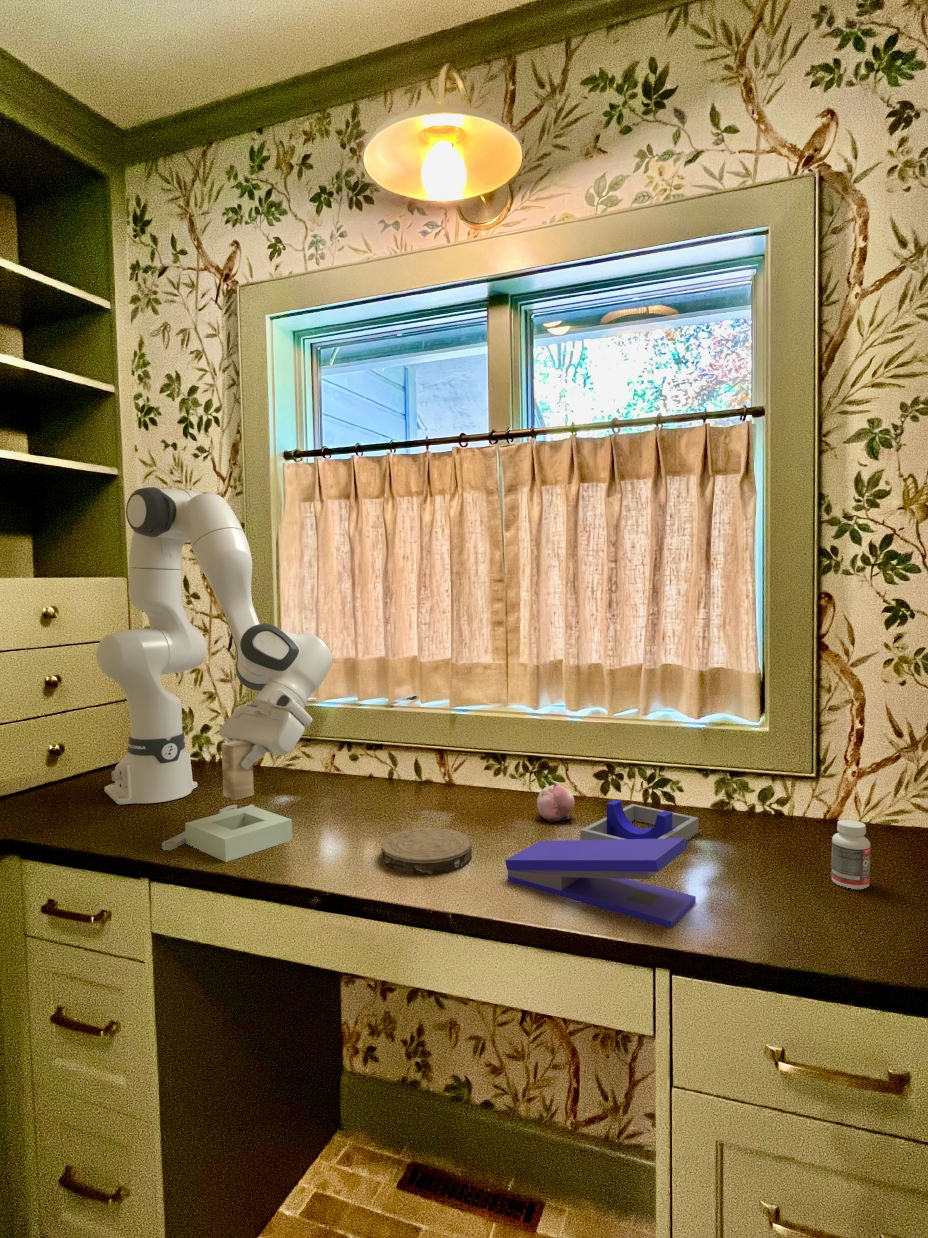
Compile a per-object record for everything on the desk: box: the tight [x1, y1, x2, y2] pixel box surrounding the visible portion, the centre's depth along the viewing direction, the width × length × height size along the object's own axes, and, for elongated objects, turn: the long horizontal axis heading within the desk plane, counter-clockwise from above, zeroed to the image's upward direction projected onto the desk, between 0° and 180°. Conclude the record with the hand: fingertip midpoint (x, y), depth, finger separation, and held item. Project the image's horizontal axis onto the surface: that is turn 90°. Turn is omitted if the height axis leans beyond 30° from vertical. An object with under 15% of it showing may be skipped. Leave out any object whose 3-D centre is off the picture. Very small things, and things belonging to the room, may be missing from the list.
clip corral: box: [579, 803, 699, 842], centre depth 135 cm, size 14×20×3 cm
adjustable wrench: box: [161, 803, 256, 851], centre depth 145 cm, size 25×6×2 cm, turn 157°
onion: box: [536, 784, 576, 823], centre depth 148 cm, size 8×8×7 cm
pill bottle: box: [831, 819, 871, 890], centre depth 115 cm, size 5×5×10 cm
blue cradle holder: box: [606, 799, 676, 839], centre depth 135 cm, size 12×4×6 cm, turn 47°
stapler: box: [504, 838, 696, 929], centre depth 113 cm, size 12×28×10 cm, turn 53°
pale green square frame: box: [184, 804, 293, 863], centre depth 136 cm, size 14×14×4 cm
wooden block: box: [221, 740, 255, 801], centre depth 136 cm, size 4×4×10 cm
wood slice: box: [381, 827, 473, 877], centre depth 128 cm, size 16×16×3 cm
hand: (234, 765), depth 135 cm, fingers closed on wooden block, 4 cm apart
